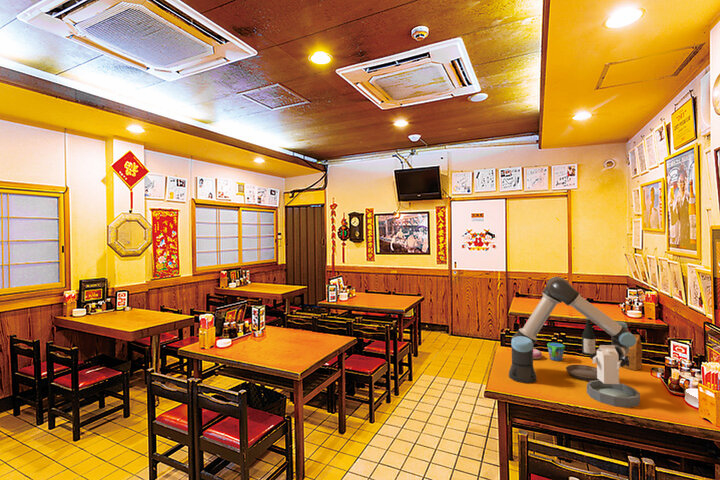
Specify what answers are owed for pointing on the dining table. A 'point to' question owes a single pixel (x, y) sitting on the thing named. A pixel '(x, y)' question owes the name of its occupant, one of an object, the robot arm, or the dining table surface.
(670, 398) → the dining table surface
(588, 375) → the plant saucer
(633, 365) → the coffee package
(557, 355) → the snack cup
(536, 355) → the donut
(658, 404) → the dining table surface
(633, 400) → the bowl
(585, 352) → the wine bottle
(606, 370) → the milk carton
